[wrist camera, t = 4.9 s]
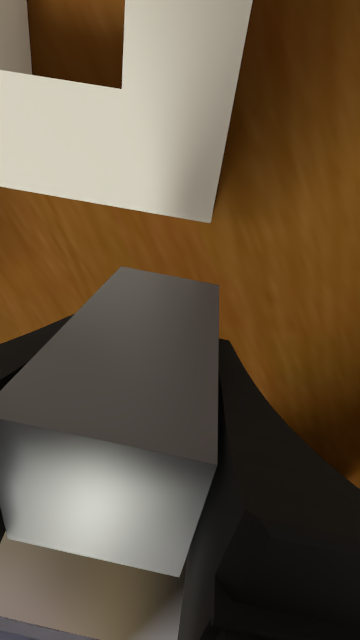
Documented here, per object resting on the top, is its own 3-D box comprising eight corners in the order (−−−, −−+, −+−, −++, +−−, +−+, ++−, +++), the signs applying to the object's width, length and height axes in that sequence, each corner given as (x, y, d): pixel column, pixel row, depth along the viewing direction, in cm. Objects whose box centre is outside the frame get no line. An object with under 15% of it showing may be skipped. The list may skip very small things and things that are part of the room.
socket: (-36, 171, 18) (-81, 172, 15) (-122, -296, 10) (-236, -451, 8) (212, 214, 17) (210, 223, 14) (299, -250, 10) (328, -399, 7)
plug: (116, 347, 14) (7, 538, 7) (121, 266, 12) (-23, 414, 5) (200, 364, 14) (179, 577, 7) (219, 285, 12) (217, 464, 5)
